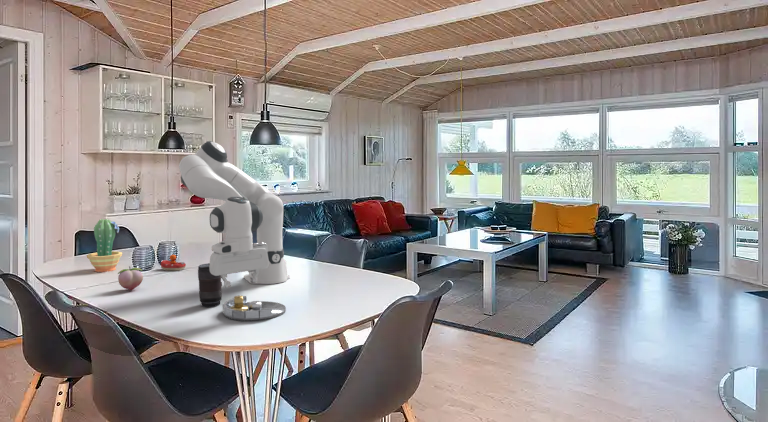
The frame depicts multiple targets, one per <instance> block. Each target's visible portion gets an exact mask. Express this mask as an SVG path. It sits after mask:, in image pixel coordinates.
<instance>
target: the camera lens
mask: <svg viewBox="0 0 768 422" xmlns="http://www.w3.org/2000/svg"><path fill="white" fill-rule="evenodd" d="M209 266H210V262H209V263H202V264H199V265H198V266H197V267H198V269H197V278H198V279H197V280H198V292H199V293H198V296H199V302H200V305H201V307H203V308H214V307H219V306H220V305H221V301H222V295H223V294H222V293H223V291H222V287H223V283H222V278H221V275H218V276H214V275H212V274H211V273H210V269H209Z"/></svg>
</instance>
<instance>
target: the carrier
mask: <svg viewBox="0 0 768 422" xmlns="http://www.w3.org/2000/svg"><path fill="white" fill-rule="evenodd" d="M242 296H243V305H247V306H248V311H243V310H234V309H231V308H230V307H231V306H234V297H233V298H230V299H228V300H226V301H224V302H223V304H222V306H221V307H222V313H223V315H224V317H225V319H228V320H232V321H238V322H259V321H260V322H261V321H266V320H270V319H275V318H278V317H281V316H282V315H284V314H285V313H286V311H287V308H286V305H284V304H283V303H280V302H277V301H276V302H275V301H263V300H253V301H247V295H242Z"/></svg>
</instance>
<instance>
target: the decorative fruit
mask: <svg viewBox="0 0 768 422" xmlns="http://www.w3.org/2000/svg"><path fill="white" fill-rule="evenodd" d="M128 267H129V269H128V268H125V269H121V270H120V271H118V272H117V275H118V276H117V277H118V278H117V279H118V284H119V286H120V287H122V288H124V289H125V290H129V291H133V290H134V289H137V287H139V286H140V285H141V284H142V282H143V279H144V275H143V273H142V271H143V269H141V268H139V267H132V268H131V266H128Z"/></svg>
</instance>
